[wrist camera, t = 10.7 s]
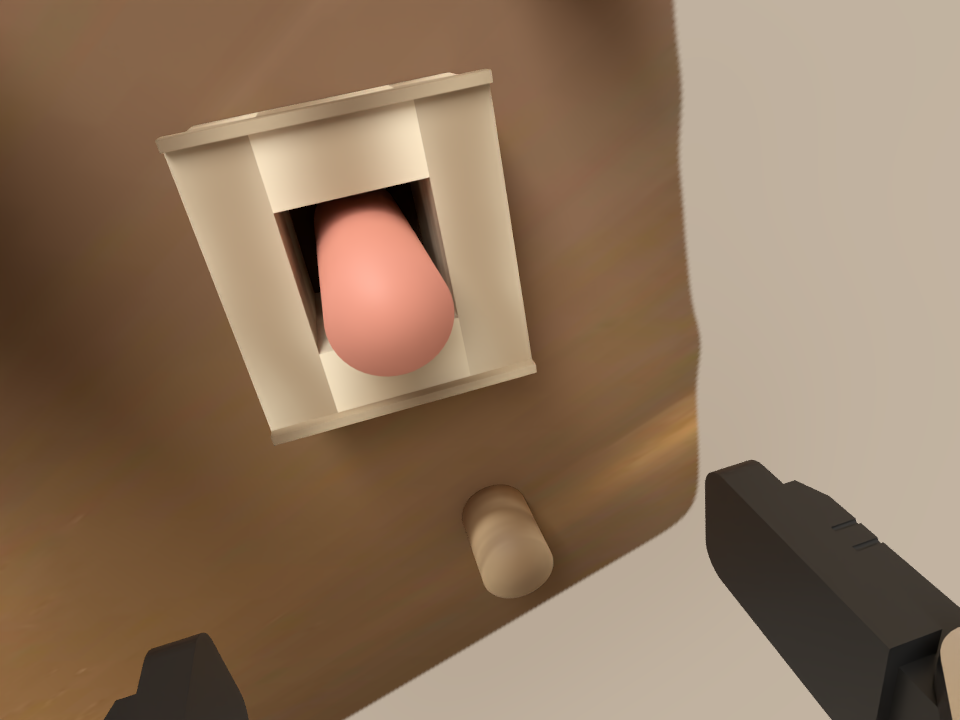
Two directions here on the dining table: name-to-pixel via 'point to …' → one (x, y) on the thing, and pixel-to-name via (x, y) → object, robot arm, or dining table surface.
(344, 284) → the long dowel
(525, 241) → the dining table surface
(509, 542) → the short dowel
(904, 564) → the robot arm
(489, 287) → the hole block
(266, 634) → the dining table surface
